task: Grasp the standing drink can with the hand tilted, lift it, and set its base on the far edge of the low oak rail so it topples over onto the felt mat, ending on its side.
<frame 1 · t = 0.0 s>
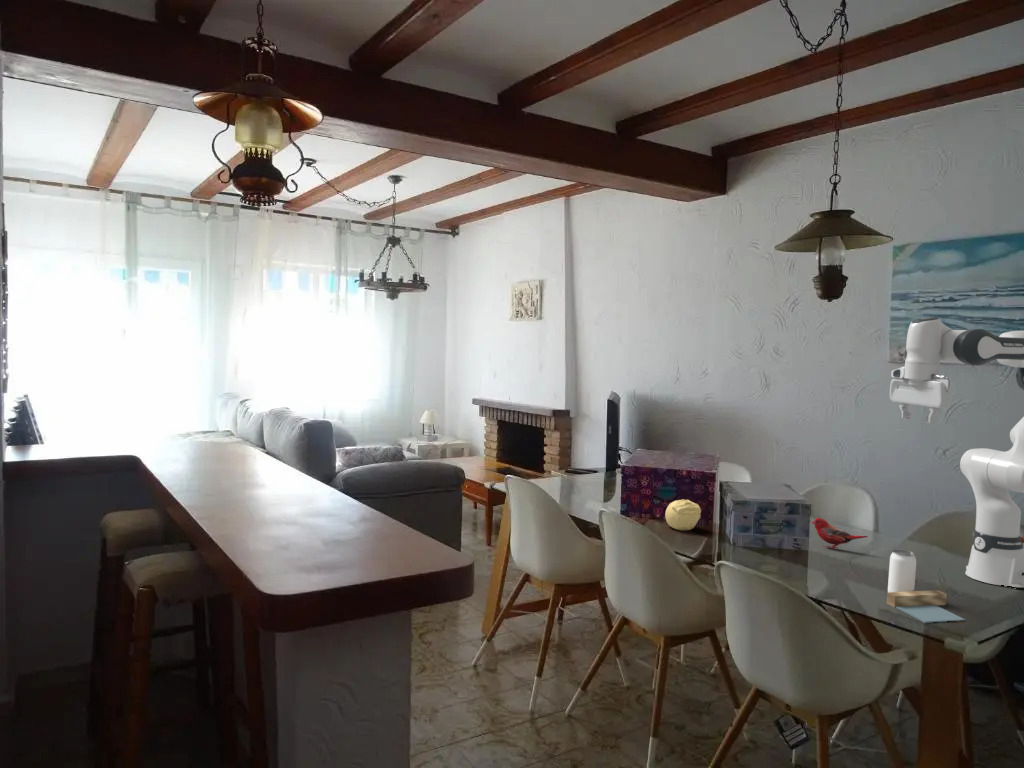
hand: (917, 420, 209), 48 cm above the table, tool pointing down, fingers open, 8 cm apart
pale yellow round lump: (681, 528, 264), on the table
can: (900, 595, 201), on the table
oak rail: (916, 604, 194), on the table
decorative bird figurine: (837, 550, 243), on the table
felt mat: (929, 614, 187), on the table
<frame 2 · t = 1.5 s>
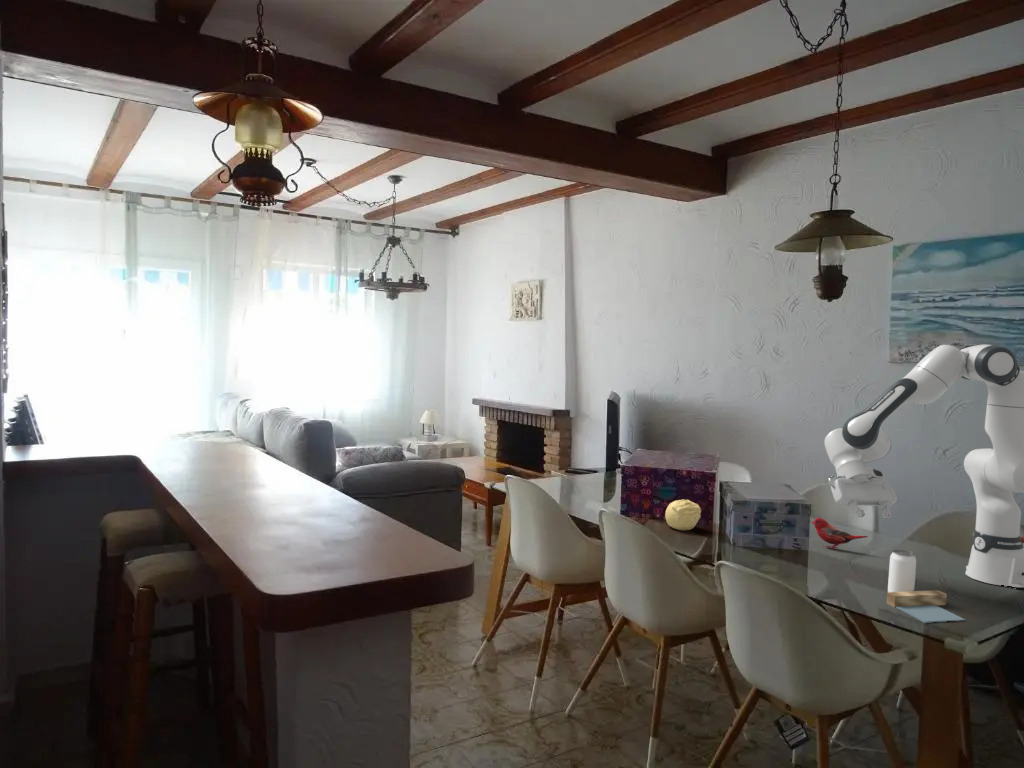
hand: (874, 516, 211), 19 cm above the table, tool tilted 45°, fingers open, 8 cm apart
nothing on the table moved.
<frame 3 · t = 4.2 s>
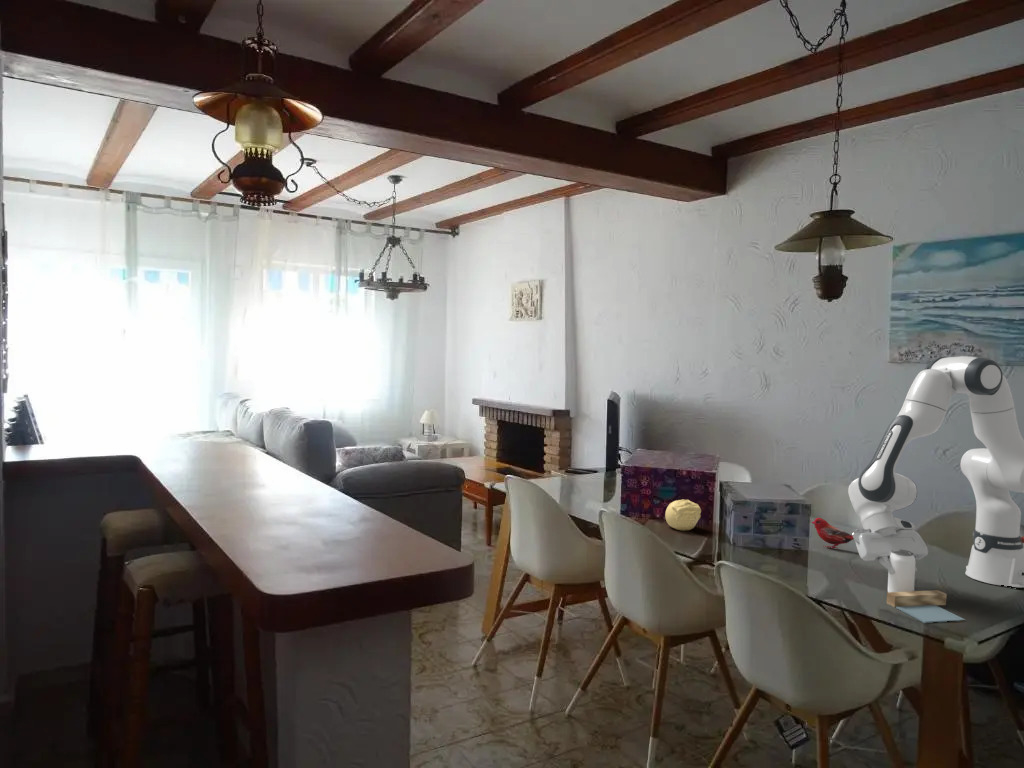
hand: (904, 573, 200), 6 cm above the table, tool tilted 45°, fingers closed on can, 5 cm apart
can: (900, 594, 201), on the table, touching gripper
everything else where it was.
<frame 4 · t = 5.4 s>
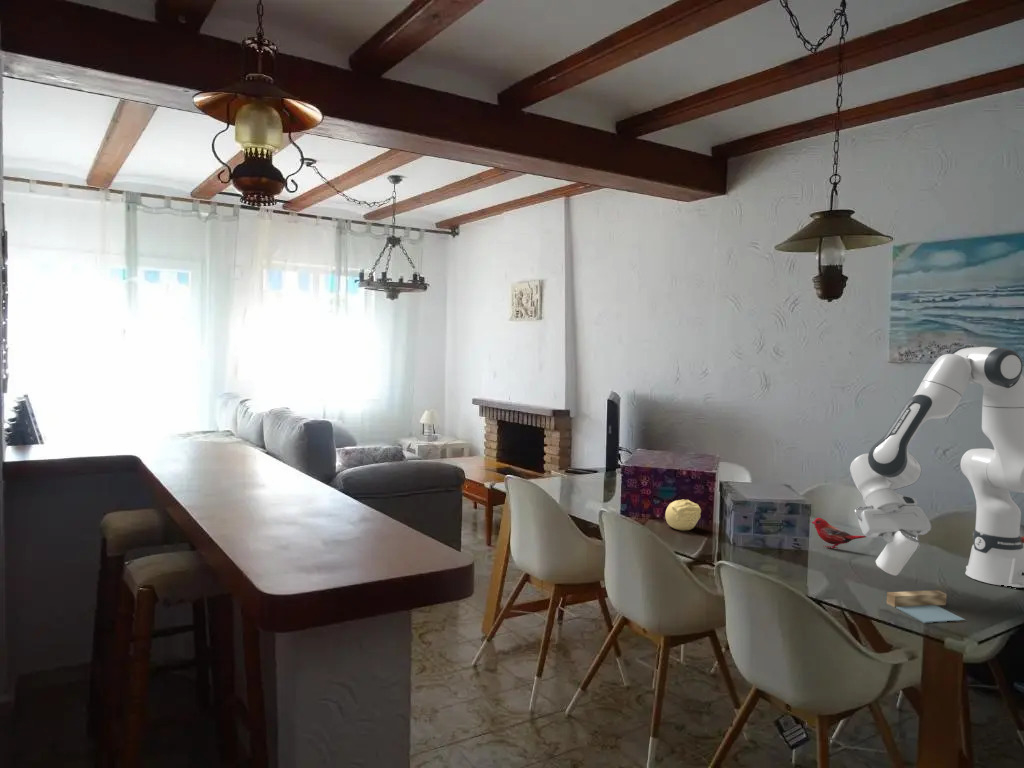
hand: (907, 548, 200), 13 cm above the table, tool tilted 45°, fingers closed on can, 5 cm apart
can: (885, 569, 203), point 6 cm above the table, touching gripper
everything else where it was.
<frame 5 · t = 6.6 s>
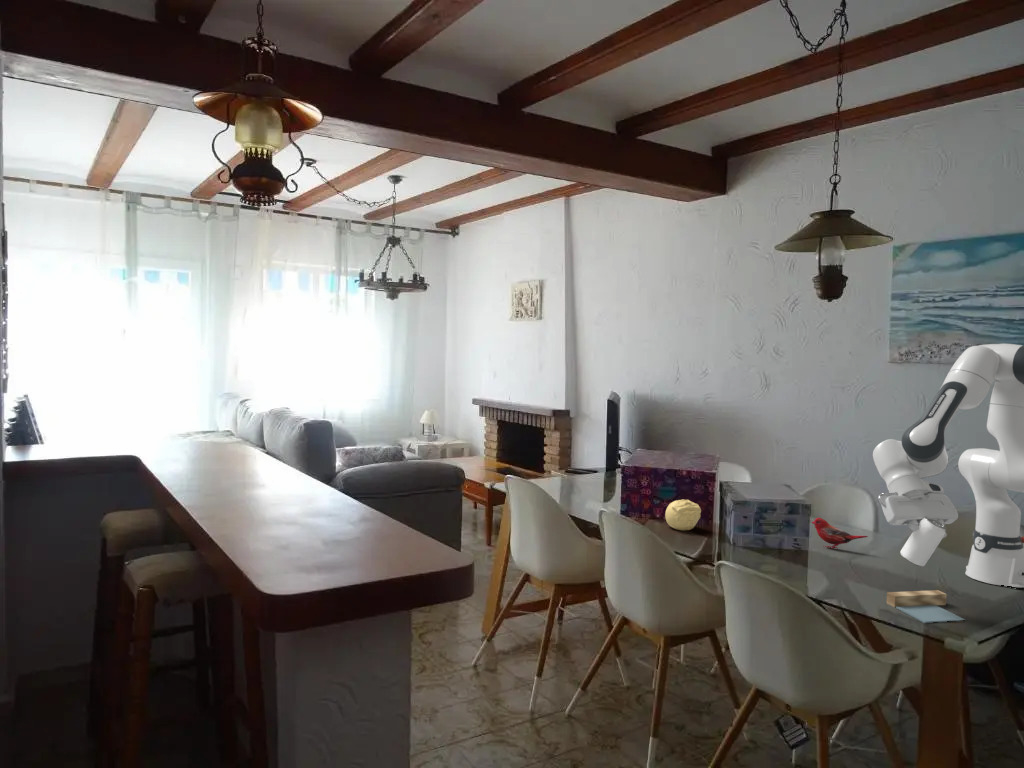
hand: (933, 537, 190), 19 cm above the table, tool tilted 45°, fingers closed on can, 4 cm apart
can: (911, 560, 193), point 12 cm above the table, touching gripper
everything else where it was.
when the fingers open (11 cm above the table, at t = 8.0 s): can moves 5 cm, resting on felt mat.
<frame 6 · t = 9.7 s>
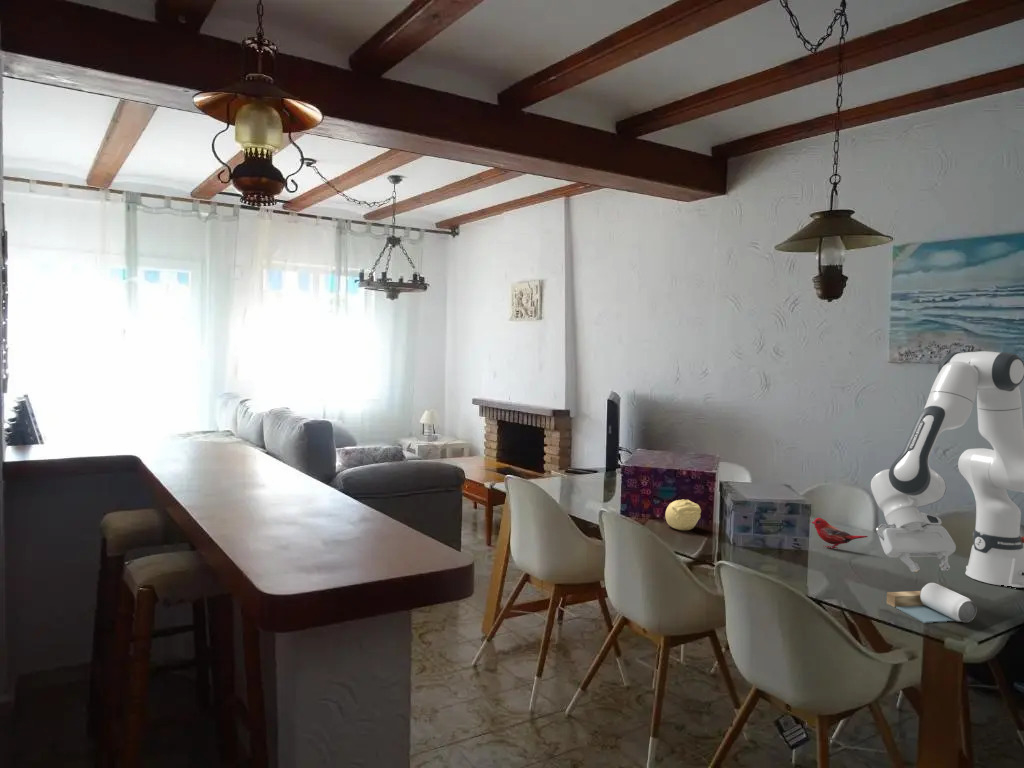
hand: (931, 570, 191), 10 cm above the table, tool tilted 45°, fingers open, 8 cm apart
can: (928, 593, 192), point 4 cm above the table, touching felt mat
everything else where it was.
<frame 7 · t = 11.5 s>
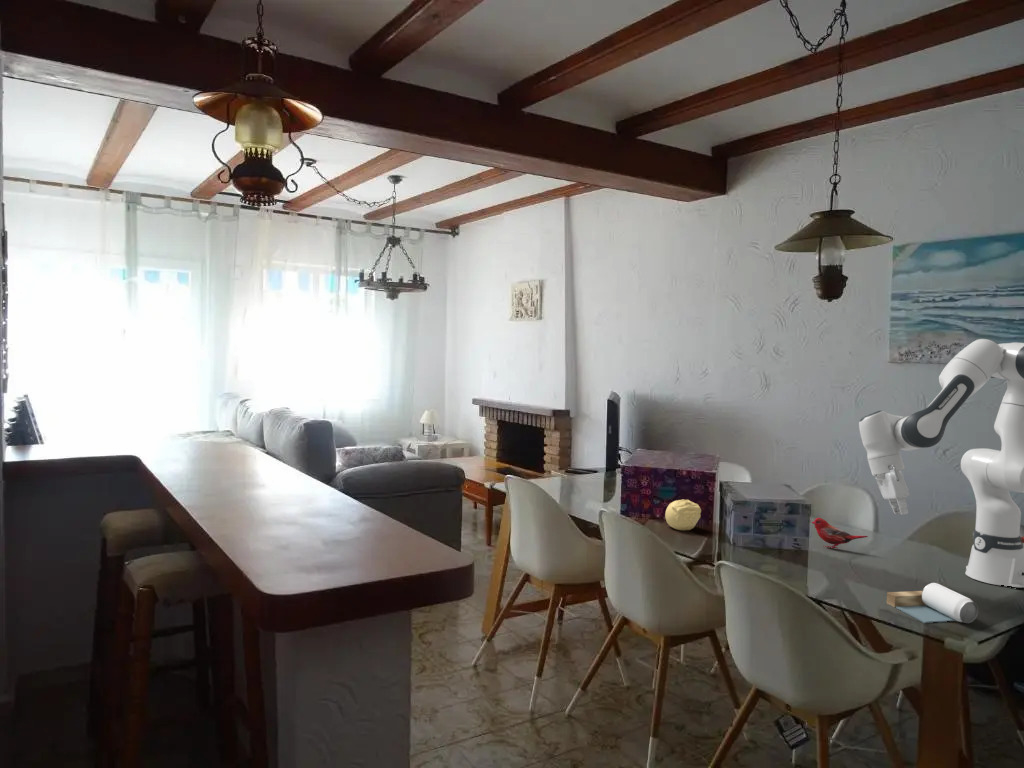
hand: (901, 514, 206), 21 cm above the table, tool tilted 20°, fingers open, 8 cm apart
nothing on the table moved.
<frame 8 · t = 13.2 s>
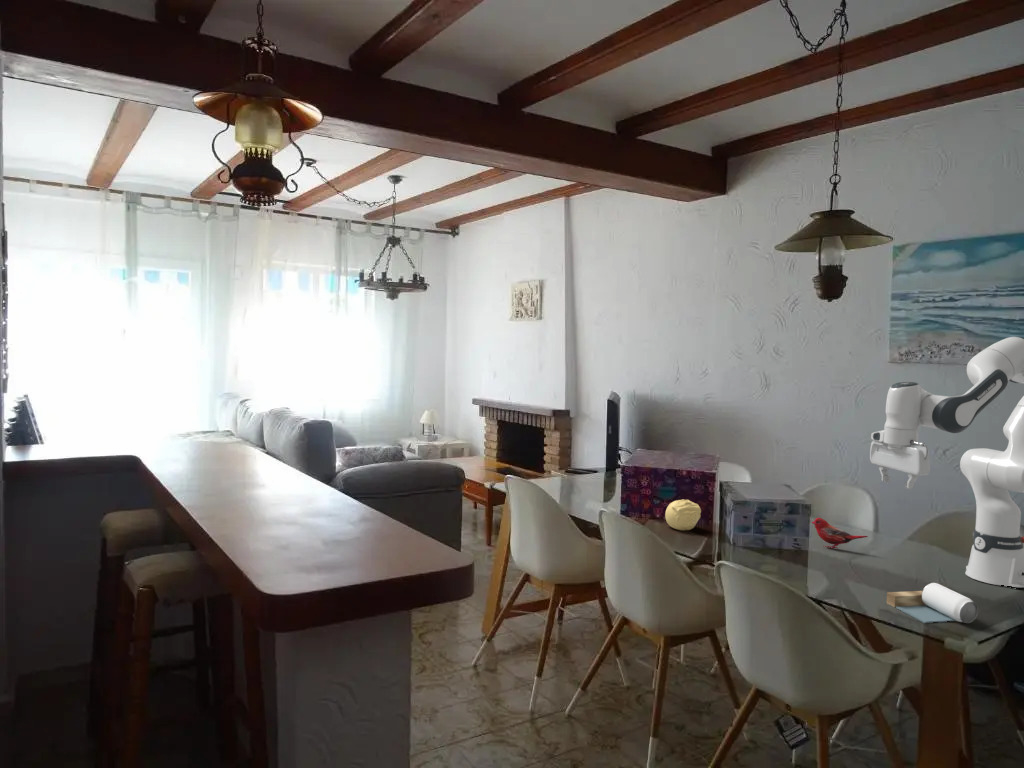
hand: (897, 485, 209), 29 cm above the table, tool pointing down, fingers open, 8 cm apart
nothing on the table moved.
at the end: can tilted 92°; can inside the target area (6.6 cm from its centre), point 3.7 cm above the table; the gripper is holding nothing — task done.
